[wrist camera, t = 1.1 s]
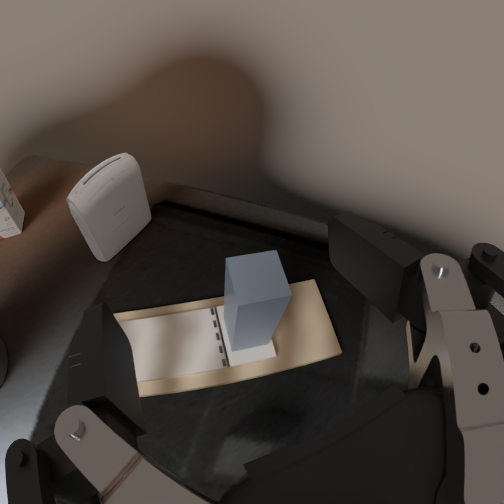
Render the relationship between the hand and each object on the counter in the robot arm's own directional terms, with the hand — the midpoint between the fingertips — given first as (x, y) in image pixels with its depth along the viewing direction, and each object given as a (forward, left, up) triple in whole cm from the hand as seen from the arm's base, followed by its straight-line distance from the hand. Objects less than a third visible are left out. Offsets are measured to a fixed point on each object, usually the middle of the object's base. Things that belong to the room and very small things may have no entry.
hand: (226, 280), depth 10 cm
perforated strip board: (-2, +5, -24) cm, 25 cm away
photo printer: (-20, +15, -25) cm, 35 cm away
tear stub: (+1, +7, -23) cm, 24 cm away
